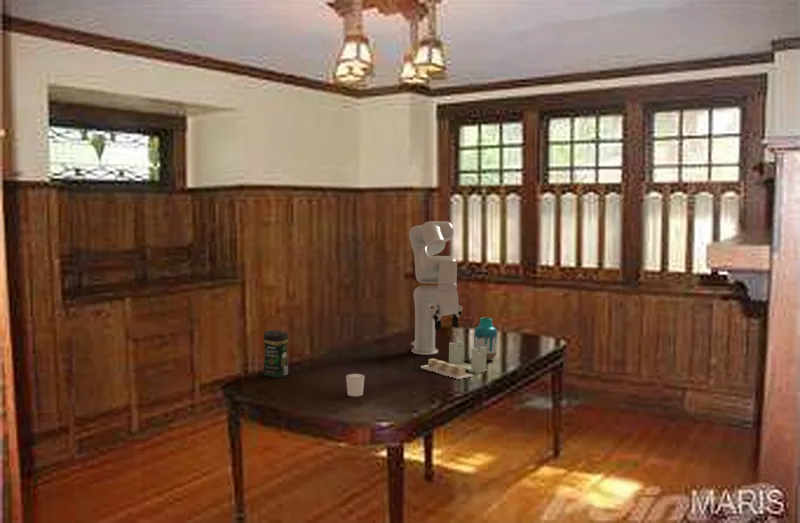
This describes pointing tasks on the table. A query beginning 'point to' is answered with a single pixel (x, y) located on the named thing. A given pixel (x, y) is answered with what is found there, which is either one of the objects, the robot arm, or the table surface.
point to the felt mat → (446, 372)
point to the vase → (486, 337)
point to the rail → (446, 367)
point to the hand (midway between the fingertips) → (446, 328)
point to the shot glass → (355, 384)
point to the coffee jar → (275, 353)
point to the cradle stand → (476, 361)
